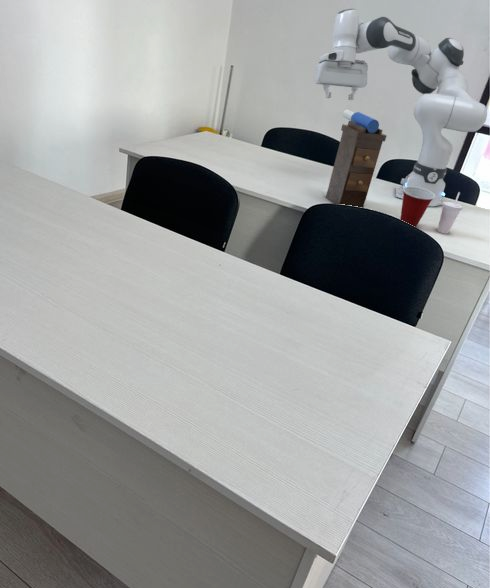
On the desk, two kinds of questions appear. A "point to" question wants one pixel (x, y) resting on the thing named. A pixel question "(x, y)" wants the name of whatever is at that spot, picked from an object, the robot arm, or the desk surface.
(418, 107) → the robot arm
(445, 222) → the smoothie
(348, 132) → the bedside cabinet
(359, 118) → the bottle
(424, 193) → the plastic cup
